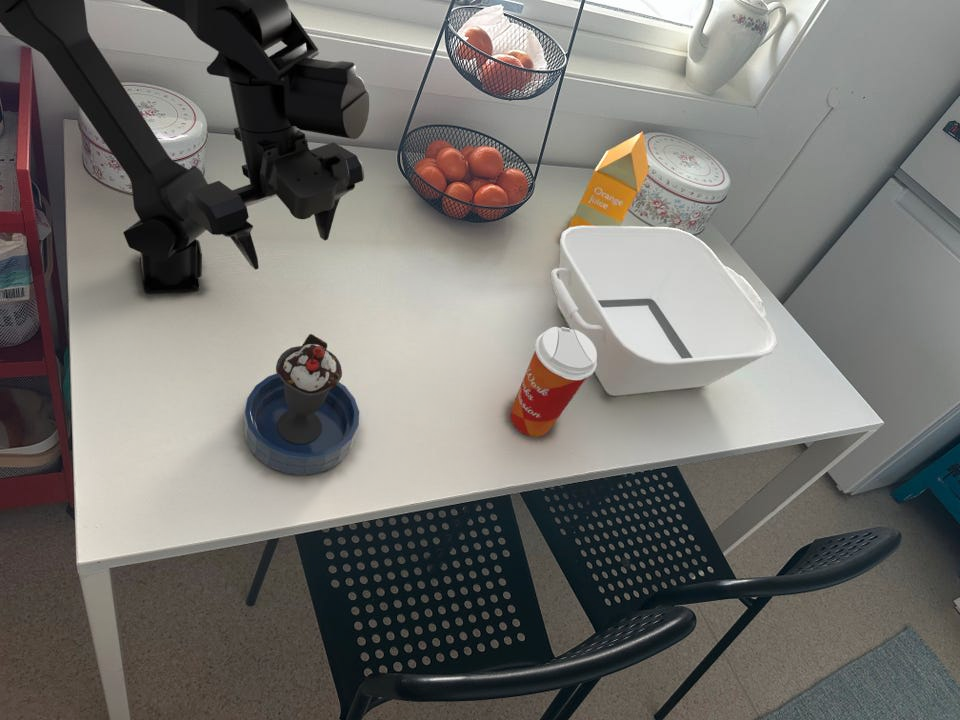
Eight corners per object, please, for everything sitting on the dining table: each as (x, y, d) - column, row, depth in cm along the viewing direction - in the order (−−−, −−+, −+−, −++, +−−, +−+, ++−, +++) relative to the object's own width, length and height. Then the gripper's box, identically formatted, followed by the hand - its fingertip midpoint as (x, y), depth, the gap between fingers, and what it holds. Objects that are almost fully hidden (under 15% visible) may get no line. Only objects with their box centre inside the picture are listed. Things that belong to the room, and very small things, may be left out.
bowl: (254, 486, 75) (256, 466, 72) (235, 396, 82) (236, 375, 79) (366, 467, 80) (371, 448, 78) (339, 385, 87) (343, 364, 84)
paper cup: (499, 393, 94) (534, 318, 84) (553, 399, 96) (594, 327, 86) (505, 441, 89) (544, 367, 79) (562, 447, 91) (607, 376, 81)
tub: (673, 285, 123) (711, 227, 114) (759, 408, 107) (811, 351, 98) (498, 290, 108) (526, 223, 99) (569, 432, 93) (609, 368, 84)
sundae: (300, 461, 78) (317, 372, 67) (256, 425, 79) (266, 332, 69) (341, 428, 82) (363, 339, 72) (299, 394, 84) (314, 303, 73)
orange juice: (560, 242, 122) (607, 140, 108) (574, 219, 128) (621, 119, 114) (601, 263, 121) (654, 162, 107) (613, 238, 127) (665, 140, 113)
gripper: (222, 178, 62) (254, 318, 73) (390, 122, 72) (397, 252, 83) (164, 137, 68) (202, 272, 79) (327, 90, 78) (341, 215, 89)
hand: (290, 252), depth 82 cm, fingers open, 9 cm apart
